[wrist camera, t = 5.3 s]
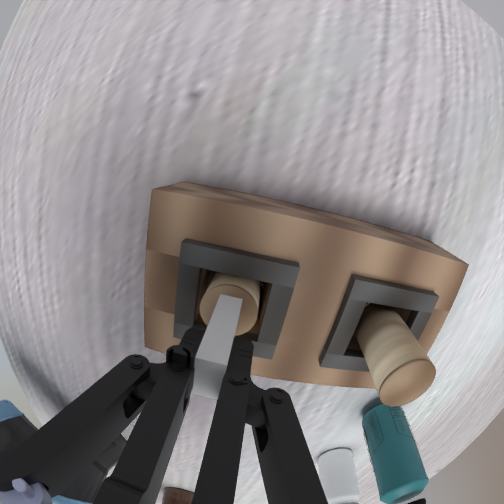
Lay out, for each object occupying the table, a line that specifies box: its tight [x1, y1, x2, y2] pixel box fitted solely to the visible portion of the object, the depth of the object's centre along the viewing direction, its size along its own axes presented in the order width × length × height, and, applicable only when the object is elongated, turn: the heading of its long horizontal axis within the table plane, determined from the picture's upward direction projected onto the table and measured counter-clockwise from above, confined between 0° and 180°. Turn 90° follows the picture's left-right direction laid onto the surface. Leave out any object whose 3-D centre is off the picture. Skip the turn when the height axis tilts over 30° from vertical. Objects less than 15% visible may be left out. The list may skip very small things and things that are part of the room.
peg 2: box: [354, 303, 436, 407], centre depth 17 cm, size 4×4×8 cm
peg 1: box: [200, 271, 261, 336], centre depth 22 cm, size 4×4×8 cm
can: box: [318, 448, 360, 504], centre depth 31 cm, size 6×6×12 cm
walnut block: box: [144, 182, 468, 388], centre depth 23 cm, size 26×14×8 cm, turn 79°
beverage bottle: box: [362, 404, 428, 504], centre depth 22 cm, size 6×7×20 cm
